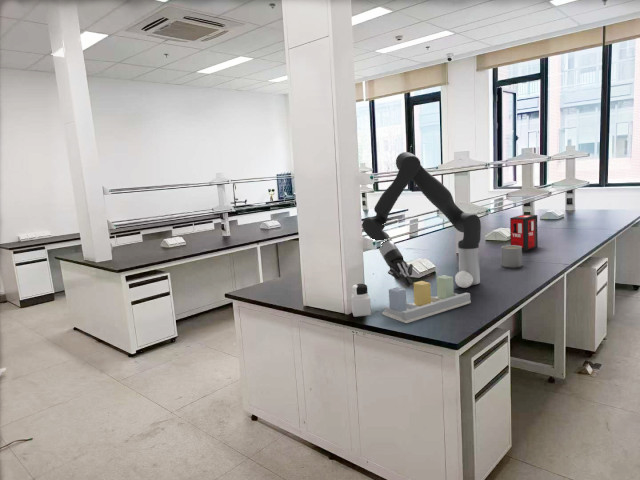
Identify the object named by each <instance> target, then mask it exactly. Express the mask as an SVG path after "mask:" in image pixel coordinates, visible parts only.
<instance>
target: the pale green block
mask: <svg viewBox="0 0 640 480" xmlns="http://www.w3.org/2000/svg"><path fill="white" fill-rule="evenodd" d="M436 292H437V293H436V296H437V297H438V298H441V299H446V298H449V297H453V296H454V293H455V292H454V277H453V276H449V275H445V274H443V275H439V276H436Z"/></svg>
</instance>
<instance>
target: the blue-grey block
mask: <svg viewBox="0 0 640 480" xmlns="http://www.w3.org/2000/svg"><path fill="white" fill-rule="evenodd" d="M388 301H389V302H388V303H389V304H388V305H389V308H391V309H394V310H397V311H400V312H402V311H406V310H407V303H408V302H407V289H406V288H402V287H398V286H396V287H392V288H389V289H388ZM406 302H407V303H406Z"/></svg>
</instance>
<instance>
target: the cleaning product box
mask: <svg viewBox="0 0 640 480" xmlns="http://www.w3.org/2000/svg"><path fill="white" fill-rule="evenodd" d="M509 222H510V223H509V225H510V227H509V229H510V231H509V232H510V233H509V235H510V237H509V238H510V240H509V241H510V245H517V246H521V247H522V252H527V251H529V250H533V249H535V248H537V247H538V214H520V215H516V216H513V217H509Z"/></svg>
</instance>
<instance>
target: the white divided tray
mask: <svg viewBox="0 0 640 480" xmlns="http://www.w3.org/2000/svg"><path fill="white" fill-rule="evenodd" d="M406 303H407V310H406V311H402V312H400V311H397V310H394V309H391V308H390V307H387V306H385V307H384V311H382V312H381V313H382V315H383V316H385V317H387V318H391V319H393V320H395V321H399V322H401V323H404V324H408V323H411V322H416V321H418V320H421V319H424V318H427V317H431V316H435V315H436V314H437V315H438V314H440V313H443V312H446V311H449V310H452V309H456V308H459V307H462V306H465V305H469V304H471V303H472V301H471V293H469V292H464V293H463V292H462V293H460V294H459V293H456V292H454V296H453V297H449V298H446V299H441V298H438V297H437V295H436V296H432V295H431V303H429V304H426V305H423V306H419V305H416V304H414V302H412V303H410V302H407V301H406Z"/></svg>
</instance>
